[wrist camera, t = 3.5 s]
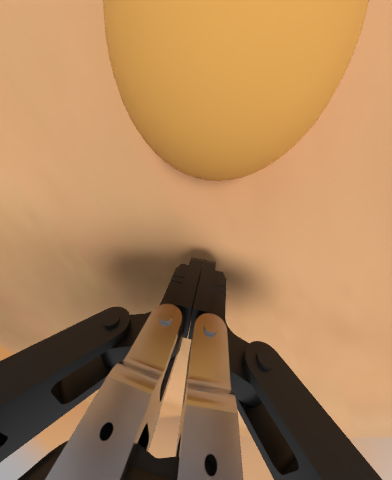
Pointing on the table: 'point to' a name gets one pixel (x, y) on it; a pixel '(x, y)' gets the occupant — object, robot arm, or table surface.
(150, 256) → the table surface
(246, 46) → the ball
